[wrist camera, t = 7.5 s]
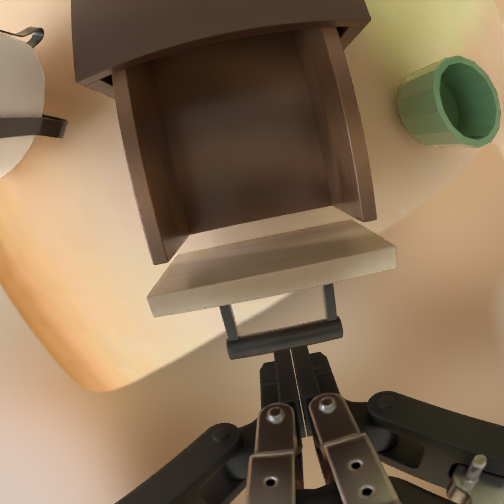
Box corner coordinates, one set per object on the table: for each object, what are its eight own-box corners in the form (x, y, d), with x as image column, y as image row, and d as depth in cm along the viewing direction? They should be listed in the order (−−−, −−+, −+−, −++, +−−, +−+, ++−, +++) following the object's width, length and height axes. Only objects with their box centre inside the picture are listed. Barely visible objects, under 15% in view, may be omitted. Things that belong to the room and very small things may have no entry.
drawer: (360, 296, 23) (398, 347, 16) (199, 329, 24) (182, 390, 17) (309, 25, 18) (334, -26, 11) (134, 63, 18) (89, 26, 11)
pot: (449, 73, 19) (488, 59, 14) (464, 145, 21) (506, 145, 16) (388, 72, 19) (423, 52, 14) (405, 151, 21) (445, 150, 16)
